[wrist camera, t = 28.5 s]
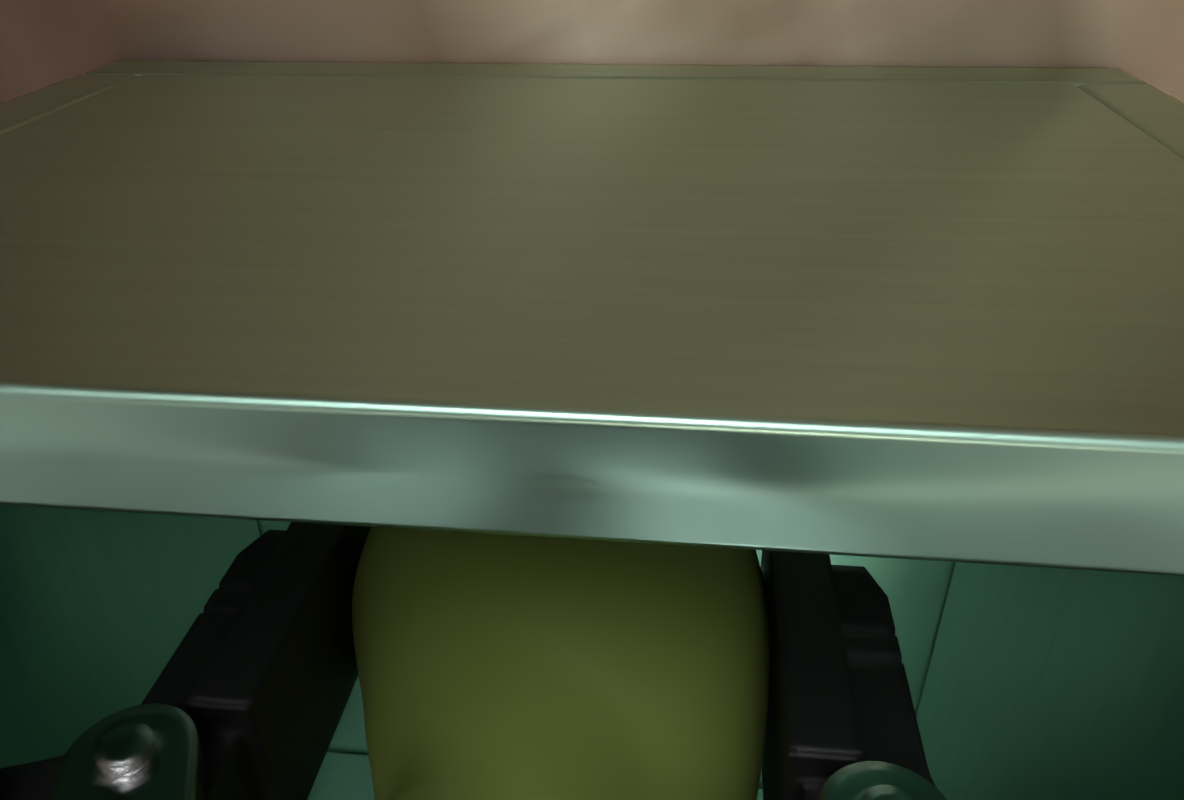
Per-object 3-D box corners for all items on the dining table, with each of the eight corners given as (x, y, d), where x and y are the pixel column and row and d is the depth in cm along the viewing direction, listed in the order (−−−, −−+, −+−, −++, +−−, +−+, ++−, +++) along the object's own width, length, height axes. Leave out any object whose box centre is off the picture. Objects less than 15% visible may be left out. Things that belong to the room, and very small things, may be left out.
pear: (686, 651, 16) (652, 1575, 8) (391, 567, 16) (14, 1428, 7) (811, 393, 13) (994, 1454, 4) (450, 285, 13) (-76, 1191, 4)
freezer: (114, 59, 13) (-683, 355, 6) (1124, 66, 12) (1864, 473, 4) (300, 738, 21) (70, 1245, 13) (923, 790, 20) (1058, 1390, 12)
